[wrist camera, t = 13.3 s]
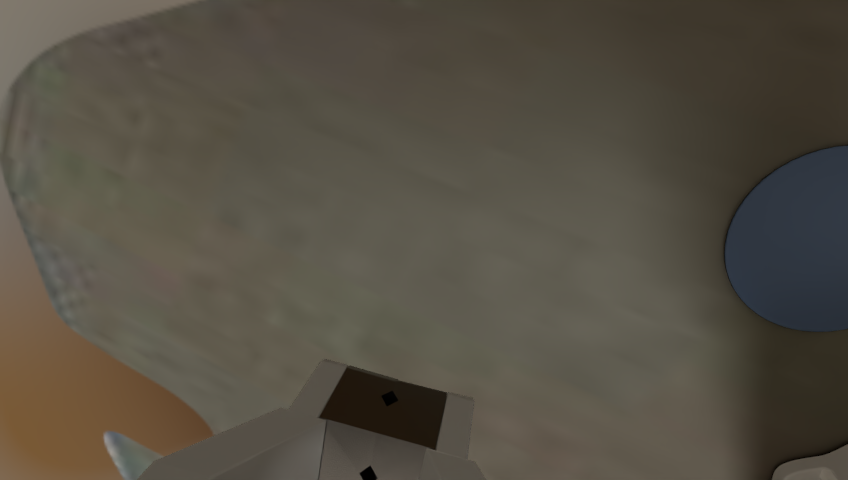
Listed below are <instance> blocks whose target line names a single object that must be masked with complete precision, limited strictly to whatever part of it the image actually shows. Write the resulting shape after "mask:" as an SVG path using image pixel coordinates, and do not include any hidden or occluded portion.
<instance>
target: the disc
mask: <svg viewBox="0 0 848 480" xmlns="http://www.w3.org/2000/svg"><path fill="white" fill-rule="evenodd" d="M724 257H725V265H726V270H727V274H728V277H729V280H730V282H731V284H732V286H733V288H734V290H735V291H736V293H737V294H738V296H739V297H740V298H741V299H742V300H743V302H744V303H745V304H746V305H747V306H748V307H749V308H751V309H752V310H753V311H754V312H755V313H757V314H758V315H760V316H762V317H763V318H765V319H766V320H768V321H771V322H773V323H775V324H778V325H780V326H784V327H787V328H790V329H796V330H801V331H813V332H825V331H837V330H844V329H848V145H847V146H837V147H831V148H827V149H822V150H818V151H815V152H812V153H809V154H806V155H803V156H801V157H799V158H797V159H794V160H792V161H790V162H788V163H787V164H785V165H783V166H781V167H780V168H778V169H776V170H775V171H774V172H772V173H771V174H770V175H768V176H767V177H765V178H764V179H763V180H762V181H761V182H760V183H759V184H758V185H757V186H755V187H754V188H753V190H752V191H751V192H750V193H749V194H748V195H747V197H746V198H745V199H744V200H743V202H742V203H741V205H740V206H739V208H738V209H737V211H736V213H735V215H734V217H733V219H732V221H731V224H730V227H729V229H728V232H727V237H726V242H725V255H724Z"/></svg>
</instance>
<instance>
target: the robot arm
mask: <svg viewBox="0 0 848 480" xmlns="http://www.w3.org/2000/svg"><path fill="white" fill-rule="evenodd" d="M473 409H474V399H473V398H472V397H467V396H463V395H459V394H454V393H450V392H448V394H447V392H443V391H439V390H435V389H431V388H427V387H423V386H419V385H416V384H412V383H408V382H404V381H400V380H398V379H395V378H391V377H388V376H384V375H381V374H378V373H374V372H371V371H367V370H364V369H360V368H357V367H353V366H348V365H346V364H342V363H339V362H335V361H331V360H328V359H324V360H323V361H321V362H320V363H319V364H318V366H317V367H316V369H315V370H314V372H313V373H312V375H311V376H310V378H309V379H308V381H307V382H306V384H305V385H304V387H303V388H302V390H301V391H300V393H299V394H298V396H297V397H296V399H295V400H294V402H293V403H292V405H291V406H290V408H289V409H285V408H279V409H277V410H274V411H272V412H269V413H267V414H265V415H262V416H260V417H258V418H255V419H253V420H250V421H248V422H246V423H243V424H241V425H239V426H236V427H234V428H232V429H229V430H227V431H224V432H222V433H220V434H217V435H215V436H213V437H210V438H208V439H205V440H203V441H201V442H198V443H196V444H194V445H192V446H189V447H187V448H184V449H182V450H180V451H177V452H175V453H172V454H170V455H168V456H165V457H163V458H160V459H158V460H156V461H154V462H153V463H152V464H151V465H150V466H149V467H148V468H147V469H146V470H145V471H144V472H143V474H142V475H141V476H140V477H139V478H138V479H137V480H486V479H485V477H484V475H483V474H482V472H481V470H480V469H479V467H478V466H477V464H476V462H474V461H471V460H468V459H467V458H468V449H469V441H470V433H471V425H472V417H473ZM772 480H848V444H847V445H845V446H843V447H841V448H839V449H837V450H835V451H833V452H831V453H828V454H825V455H822V456H815V457H809V458H803V459H798V460H793V461H790V462H787V463H784V464H782V465H780V466H779V467H778V468H777V469H776V470H775V472H774V474H773V477H772Z"/></svg>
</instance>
